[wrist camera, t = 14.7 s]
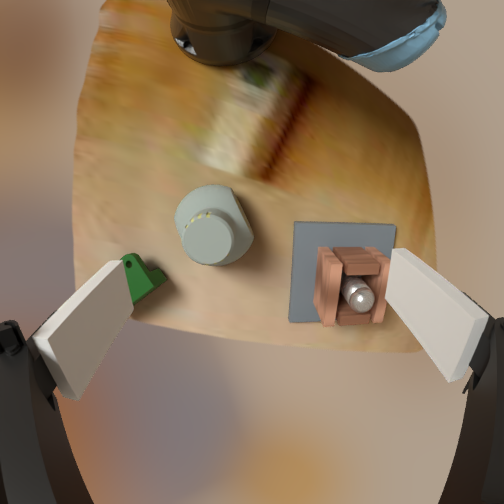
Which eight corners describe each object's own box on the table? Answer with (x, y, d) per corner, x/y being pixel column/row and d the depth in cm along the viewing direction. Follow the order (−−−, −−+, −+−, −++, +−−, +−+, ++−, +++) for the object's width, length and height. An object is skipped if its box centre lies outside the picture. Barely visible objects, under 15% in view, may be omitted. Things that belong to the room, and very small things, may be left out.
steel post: (334, 265, 42) (355, 293, 32) (355, 264, 42) (380, 292, 33) (331, 286, 43) (351, 318, 34) (352, 285, 43) (375, 316, 34)
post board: (294, 221, 41) (295, 223, 39) (392, 224, 41) (396, 225, 40) (288, 318, 46) (289, 322, 45) (377, 313, 46) (379, 317, 45)
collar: (318, 246, 41) (331, 264, 34) (374, 246, 41) (394, 263, 34) (313, 302, 43) (323, 326, 37) (365, 299, 44) (382, 322, 37)
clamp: (149, 250, 46) (140, 243, 37) (169, 279, 46) (163, 279, 38) (96, 290, 44) (76, 291, 35) (115, 319, 44) (98, 326, 35)
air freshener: (259, 242, 42) (262, 268, 32) (208, 265, 43) (198, 296, 33) (226, 173, 38) (218, 179, 29) (174, 199, 39) (152, 213, 30)
